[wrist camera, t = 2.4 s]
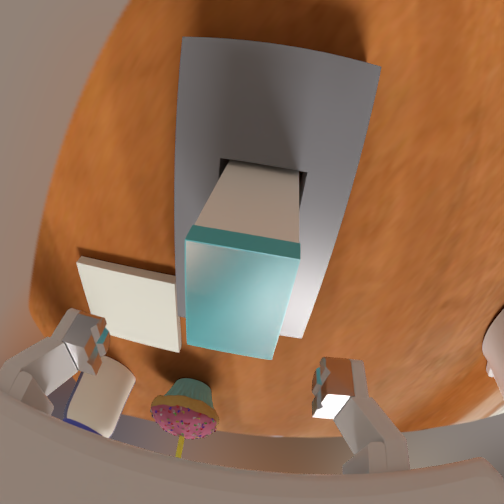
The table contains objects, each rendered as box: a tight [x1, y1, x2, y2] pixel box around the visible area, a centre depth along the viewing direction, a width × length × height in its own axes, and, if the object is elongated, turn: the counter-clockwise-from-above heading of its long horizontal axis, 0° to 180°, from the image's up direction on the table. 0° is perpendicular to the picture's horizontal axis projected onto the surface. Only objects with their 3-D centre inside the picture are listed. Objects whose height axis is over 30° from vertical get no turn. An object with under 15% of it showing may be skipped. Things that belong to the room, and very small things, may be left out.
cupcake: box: [150, 378, 219, 458], centre depth 34 cm, size 9×8×12 cm
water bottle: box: [63, 355, 136, 438], centre depth 30 cm, size 8×9×25 cm
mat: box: [76, 256, 182, 353], centre depth 30 cm, size 10×10×1 cm
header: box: [174, 37, 381, 338], centre depth 20 cm, size 10×20×4 cm, turn 173°
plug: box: [185, 159, 301, 360], centre depth 17 cm, size 4×6×11 cm
